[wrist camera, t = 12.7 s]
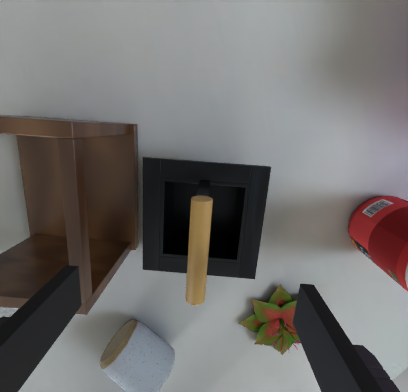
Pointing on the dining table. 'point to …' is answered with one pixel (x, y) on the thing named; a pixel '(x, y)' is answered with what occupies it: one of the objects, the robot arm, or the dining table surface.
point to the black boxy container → (202, 219)
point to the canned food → (383, 234)
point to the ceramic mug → (137, 359)
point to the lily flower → (274, 321)
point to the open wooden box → (72, 204)
